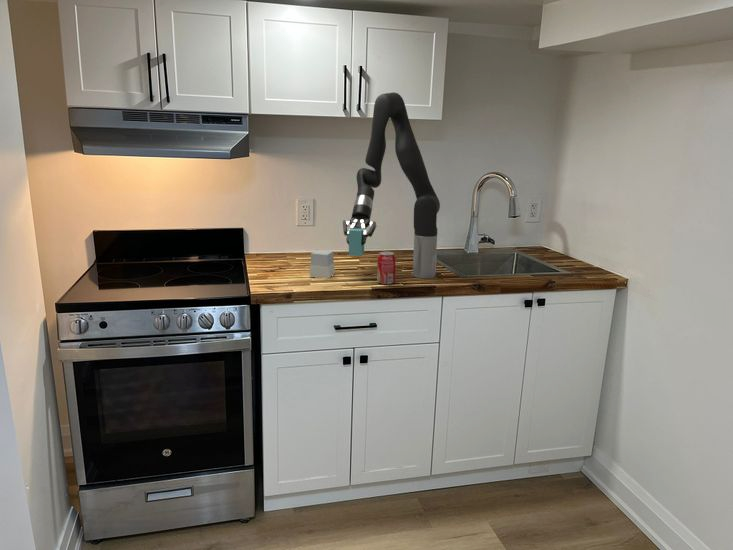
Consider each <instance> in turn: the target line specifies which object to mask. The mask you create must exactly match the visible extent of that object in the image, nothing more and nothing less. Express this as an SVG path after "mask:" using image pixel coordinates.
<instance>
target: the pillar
mask: <svg viewBox="0 0 733 550" xmlns="http://www.w3.org/2000/svg"><path fill="white" fill-rule="evenodd" d="M349 229H350V228H349ZM349 229H348V231H349V245H348V256H351V257H353V256H354V257H362V256H363V255H365V244H364V245H362V244H361V241H362V236H363V230H364V229H358V228H354V229H350V230H349Z"/></svg>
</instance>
